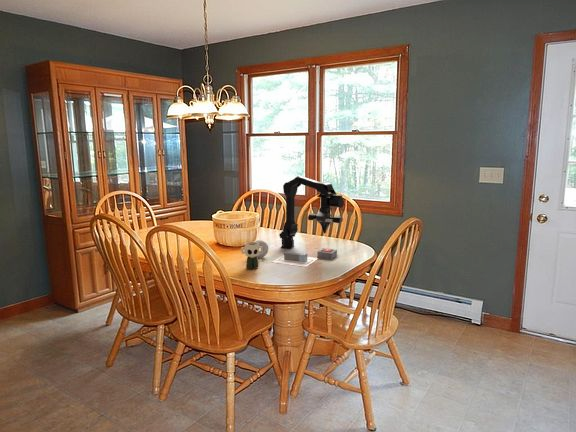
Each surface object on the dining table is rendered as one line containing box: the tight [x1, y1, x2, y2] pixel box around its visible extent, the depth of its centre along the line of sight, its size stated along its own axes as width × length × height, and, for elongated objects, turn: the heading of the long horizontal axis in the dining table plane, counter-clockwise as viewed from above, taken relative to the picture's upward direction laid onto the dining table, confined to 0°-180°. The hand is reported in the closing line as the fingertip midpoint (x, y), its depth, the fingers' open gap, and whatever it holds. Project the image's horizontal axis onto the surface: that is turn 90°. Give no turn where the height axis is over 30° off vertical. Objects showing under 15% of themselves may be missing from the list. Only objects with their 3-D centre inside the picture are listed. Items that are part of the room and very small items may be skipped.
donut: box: [254, 239, 269, 259], centre depth 234 cm, size 10×4×10 cm, turn 99°
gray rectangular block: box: [283, 251, 308, 262], centre depth 230 cm, size 12×4×4 cm, turn 64°
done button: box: [323, 248, 332, 253], centre depth 237 cm, size 5×5×4 cm
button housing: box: [316, 247, 338, 260], centre depth 237 cm, size 8×8×4 cm
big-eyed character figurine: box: [240, 241, 263, 270], centre depth 216 cm, size 11×7×13 cm, turn 101°
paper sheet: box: [272, 254, 320, 268], centre depth 230 cm, size 20×17×1 cm
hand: (324, 233), depth 238 cm, fingers closed
